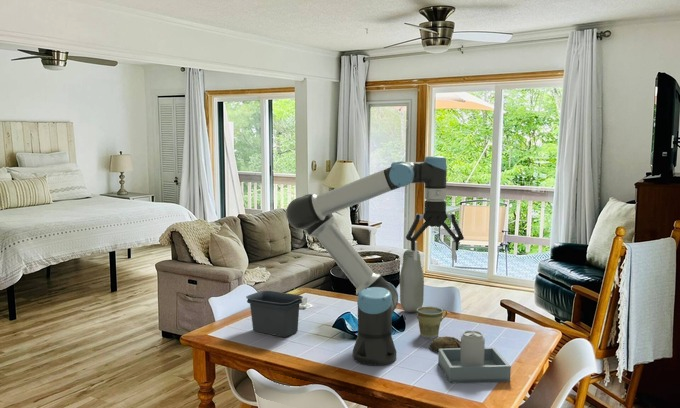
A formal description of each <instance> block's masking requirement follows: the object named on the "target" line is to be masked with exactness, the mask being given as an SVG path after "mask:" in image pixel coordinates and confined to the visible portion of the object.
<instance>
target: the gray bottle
mask: <svg viewBox="0 0 680 408" xmlns="http://www.w3.org/2000/svg"><path fill="white" fill-rule="evenodd" d="M402 255H403V256H402V266H401V269H400V273H399V302H400V305H401V308H402V309H403V311H405V312H407V313H415V312H416V313H417V309H418V308H420V307H423V304H424V298H425V297H424V295H425V294H424V290H425V276H424V271H423V268H422V262H421V254H420V251H419V250H418V249H417V260H414V251H412V250H411V248H408V249H406V250H405V251H404V253H403V254H402Z"/></svg>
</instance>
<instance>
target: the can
mask: <svg viewBox="0 0 680 408" xmlns="http://www.w3.org/2000/svg"><path fill="white" fill-rule="evenodd" d="M483 335H484V334H483V333H482V332H481V331H478V330H465V331H463V332H462V335H460V341H461V355H460V366H484V349H485V348H486V347H485V344H486V343H485V342H486V340H485V337H484V336H483Z"/></svg>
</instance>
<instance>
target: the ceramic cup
mask: <svg viewBox="0 0 680 408" xmlns="http://www.w3.org/2000/svg"><path fill="white" fill-rule="evenodd" d="M444 312H445V314H444V316H443V313H444ZM416 315H417V316H416V317H417V320H418V321H417V322H418V327H419V333H420V334H419V335H420V336H421V337H423V338H426V339H436V338H438V336H439V331H440V326H441V323H442V321H443V320H444V319H445V318H446V317H447V316H448V311H447V310H446V309H442V308H439V307H437V306H436V307H435V306H422V307H420V308H418V309H417V312H416Z"/></svg>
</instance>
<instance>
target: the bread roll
mask: <svg viewBox="0 0 680 408" xmlns="http://www.w3.org/2000/svg"><path fill="white" fill-rule="evenodd" d="M428 347H429V349H430V350H431V351H433V352H436V353H438V350H439V349H447V348H461V340H459V339H458V338H455V337H452V336H439V337H438V336H437V337H435V338H433V340H432V341H431V342H430V344H429V346H428Z"/></svg>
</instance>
